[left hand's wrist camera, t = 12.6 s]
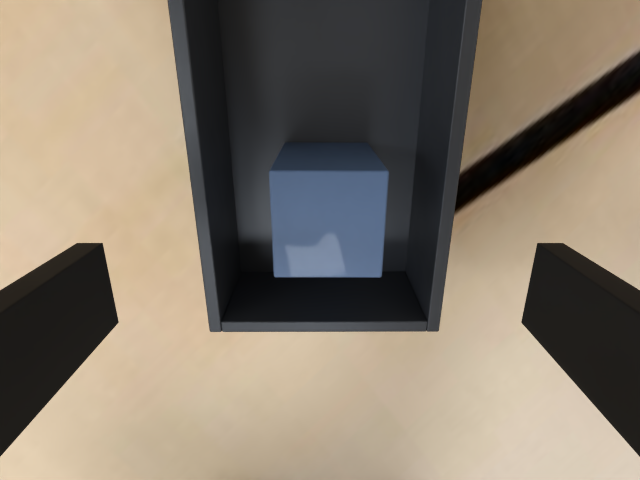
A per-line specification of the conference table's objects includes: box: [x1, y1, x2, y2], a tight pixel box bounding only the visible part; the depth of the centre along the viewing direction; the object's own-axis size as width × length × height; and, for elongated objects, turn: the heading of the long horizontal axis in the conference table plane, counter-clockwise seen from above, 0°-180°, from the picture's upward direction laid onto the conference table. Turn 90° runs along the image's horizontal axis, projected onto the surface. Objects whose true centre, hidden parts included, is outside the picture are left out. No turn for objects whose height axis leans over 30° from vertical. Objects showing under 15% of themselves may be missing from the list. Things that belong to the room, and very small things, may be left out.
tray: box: [168, 0, 482, 332], centre depth 17 cm, size 27×11×6 cm, turn 0°
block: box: [269, 142, 389, 277], centre depth 19 cm, size 4×4×7 cm
